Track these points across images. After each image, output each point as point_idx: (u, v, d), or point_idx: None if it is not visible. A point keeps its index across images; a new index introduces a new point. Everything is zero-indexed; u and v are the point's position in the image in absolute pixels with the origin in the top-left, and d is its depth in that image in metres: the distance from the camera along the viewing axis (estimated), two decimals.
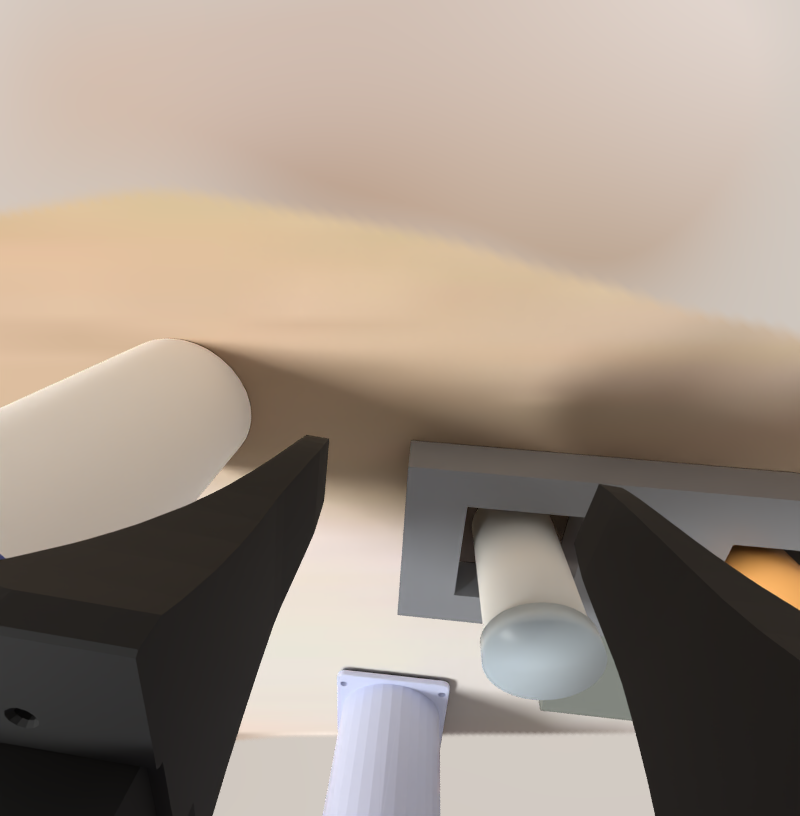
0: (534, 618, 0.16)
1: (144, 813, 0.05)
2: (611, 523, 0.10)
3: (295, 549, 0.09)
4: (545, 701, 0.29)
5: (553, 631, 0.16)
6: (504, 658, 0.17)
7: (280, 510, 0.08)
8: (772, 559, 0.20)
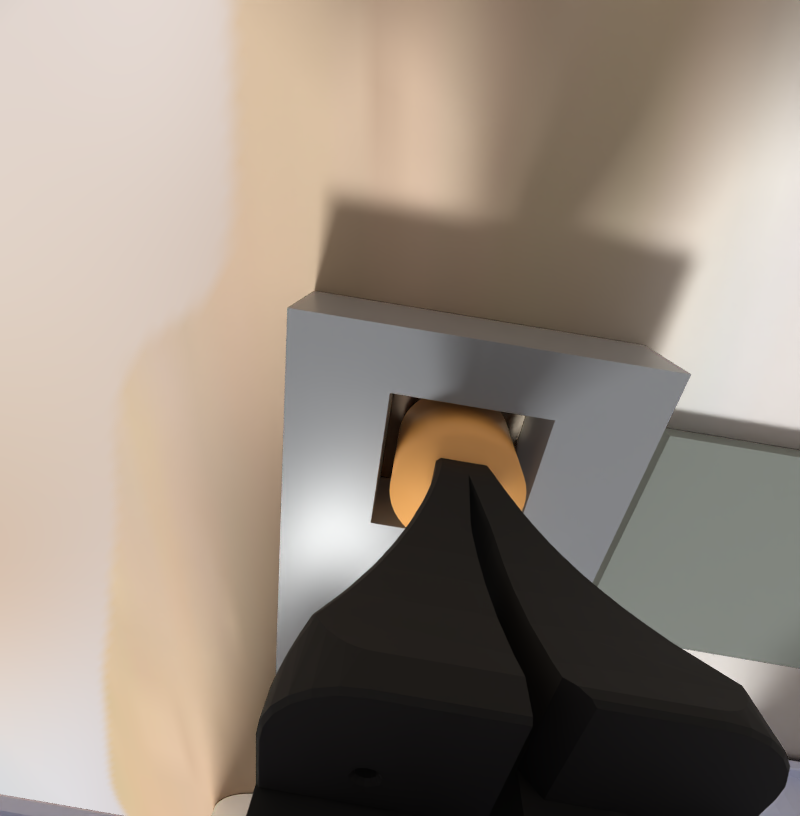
0: None
1: None
2: None
3: None
4: (774, 662, 0.17)
5: None
6: None
7: None
8: None
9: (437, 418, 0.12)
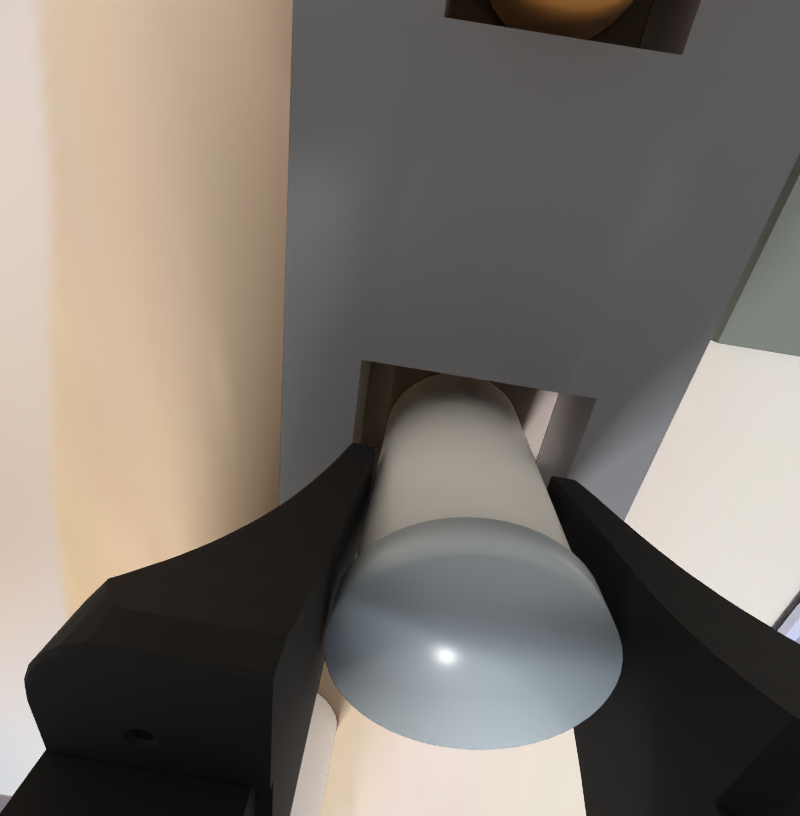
0: None
1: None
2: (559, 514, 0.10)
3: (349, 558, 0.09)
4: None
5: (358, 651, 0.07)
6: (456, 720, 0.08)
7: (345, 521, 0.08)
8: None
9: None
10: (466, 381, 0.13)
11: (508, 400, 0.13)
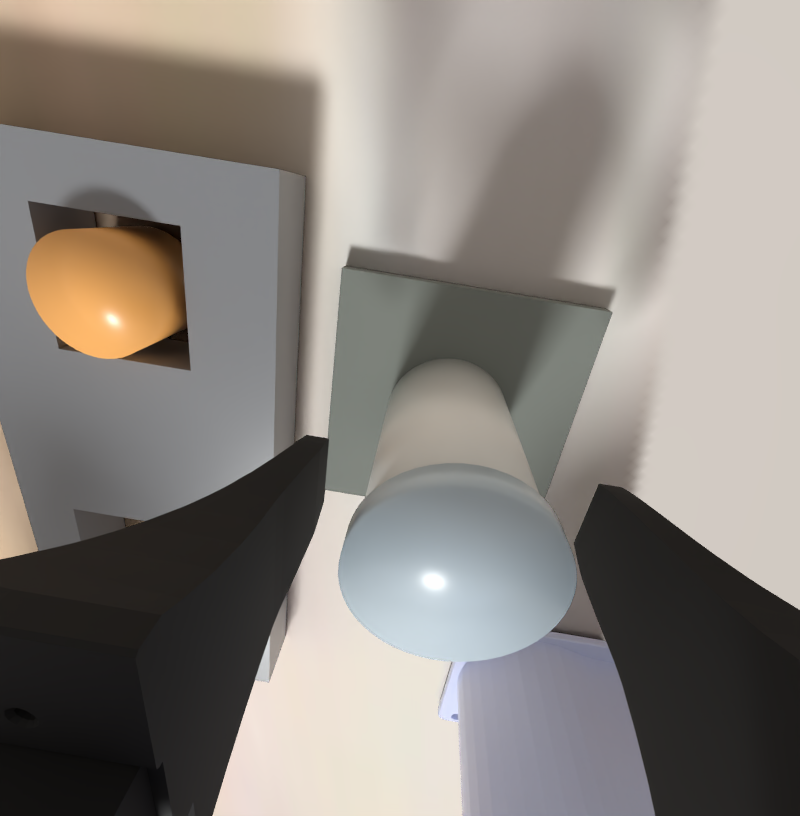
0: None
1: (144, 813, 0.05)
2: (611, 523, 0.10)
3: (295, 549, 0.09)
4: None
5: (366, 568, 0.09)
6: (439, 634, 0.09)
7: (281, 510, 0.08)
8: None
9: None
10: (463, 366, 0.14)
11: (498, 386, 0.15)
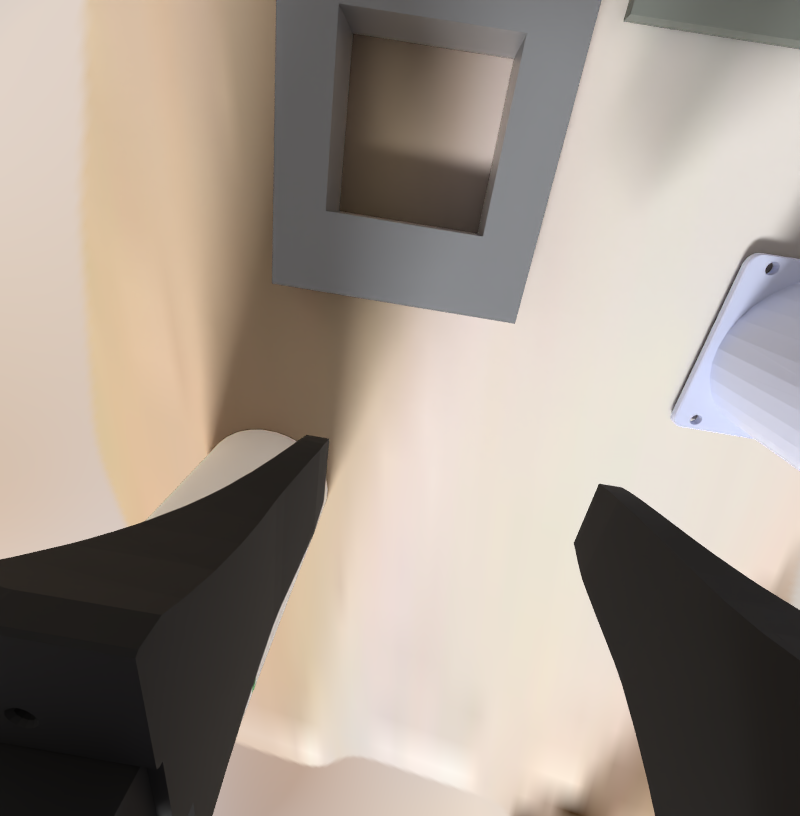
0: None
1: (143, 812, 0.05)
2: (611, 523, 0.10)
3: (295, 549, 0.09)
4: None
5: None
6: None
7: (281, 510, 0.08)
8: None
9: None
10: None
11: None
